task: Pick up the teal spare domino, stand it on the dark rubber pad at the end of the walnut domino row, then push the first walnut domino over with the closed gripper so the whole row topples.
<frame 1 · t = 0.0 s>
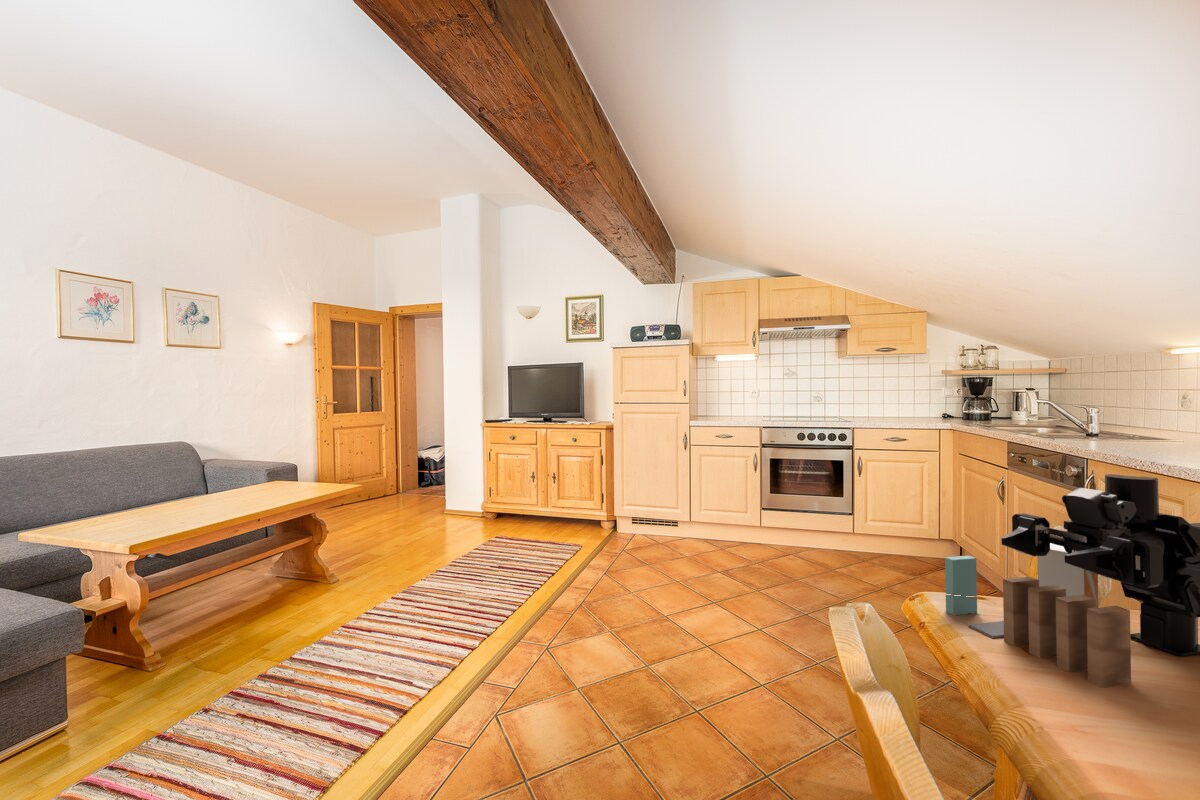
hand: (1032, 549, 75), 17 cm above the table, tool horizontal, fingers open, 9 cm apart
domino 3: (1048, 654, 77), on the table
small box: (1068, 623, 88), on the table
domino 4: (1021, 641, 81), on the table
domino 2: (1077, 667, 73), on the table
end pad: (998, 630, 85), on the table
spare domino: (961, 612, 92), on the table
domino 1: (1109, 682, 69), on the table
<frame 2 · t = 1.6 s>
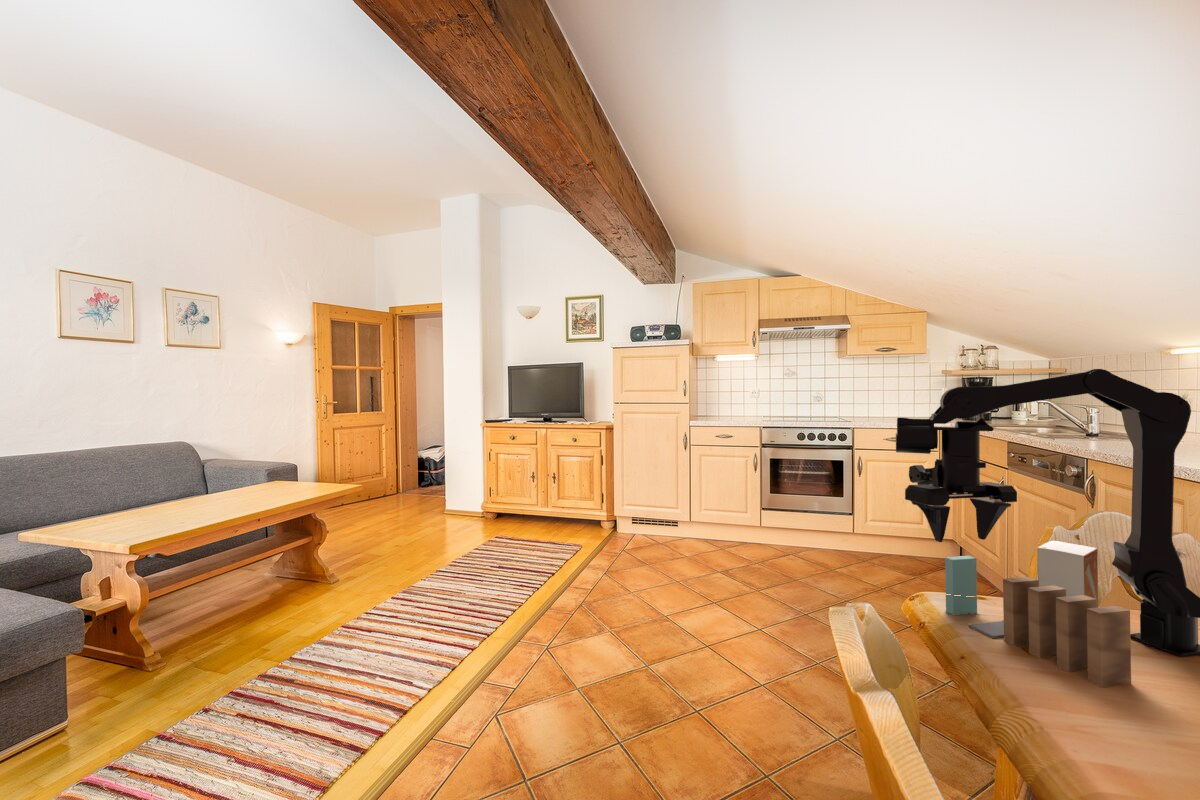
hand: (960, 540, 92), 13 cm above the table, tool pointing down, fingers open, 9 cm apart
nothing on the table moved.
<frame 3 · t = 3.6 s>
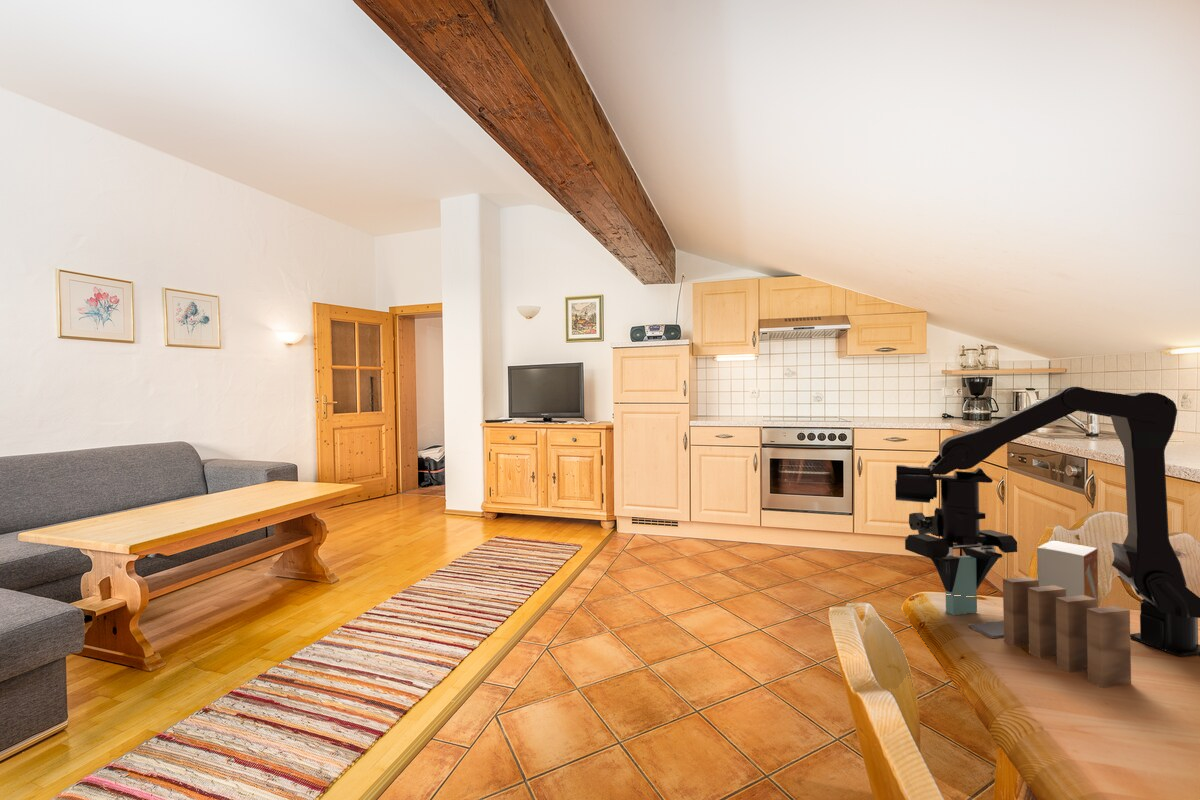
hand: (961, 590, 92), 4 cm above the table, tool pointing down, fingers closed on spare domino, 5 cm apart
spare domino: (961, 612, 92), on the table, touching gripper
everything else where it was.
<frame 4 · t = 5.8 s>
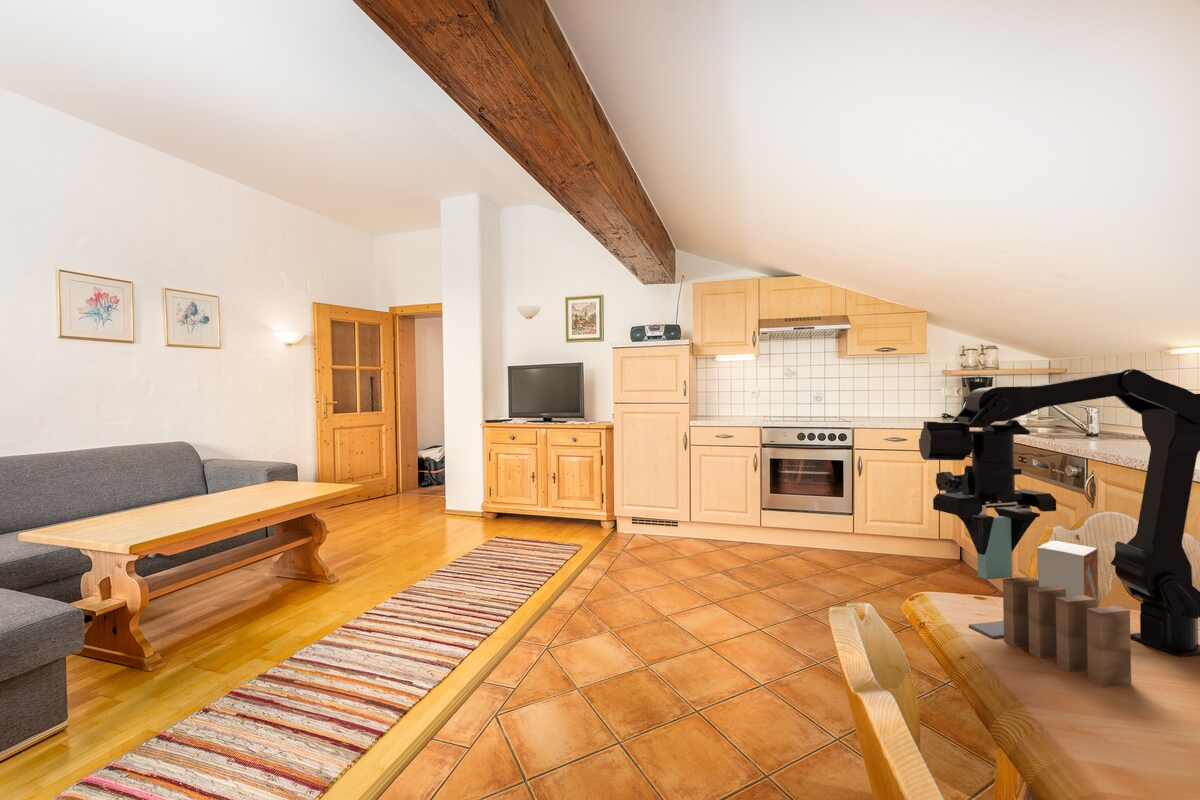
hand: (994, 553, 85), 13 cm above the table, tool pointing down, fingers closed on spare domino, 5 cm apart
spare domino: (995, 576, 85), point 9 cm above the table, touching gripper
everything else where it was.
when the fingers open (5 cm above the table, at t = 8.0 s): spare domino stays where it is, resting on end pad.
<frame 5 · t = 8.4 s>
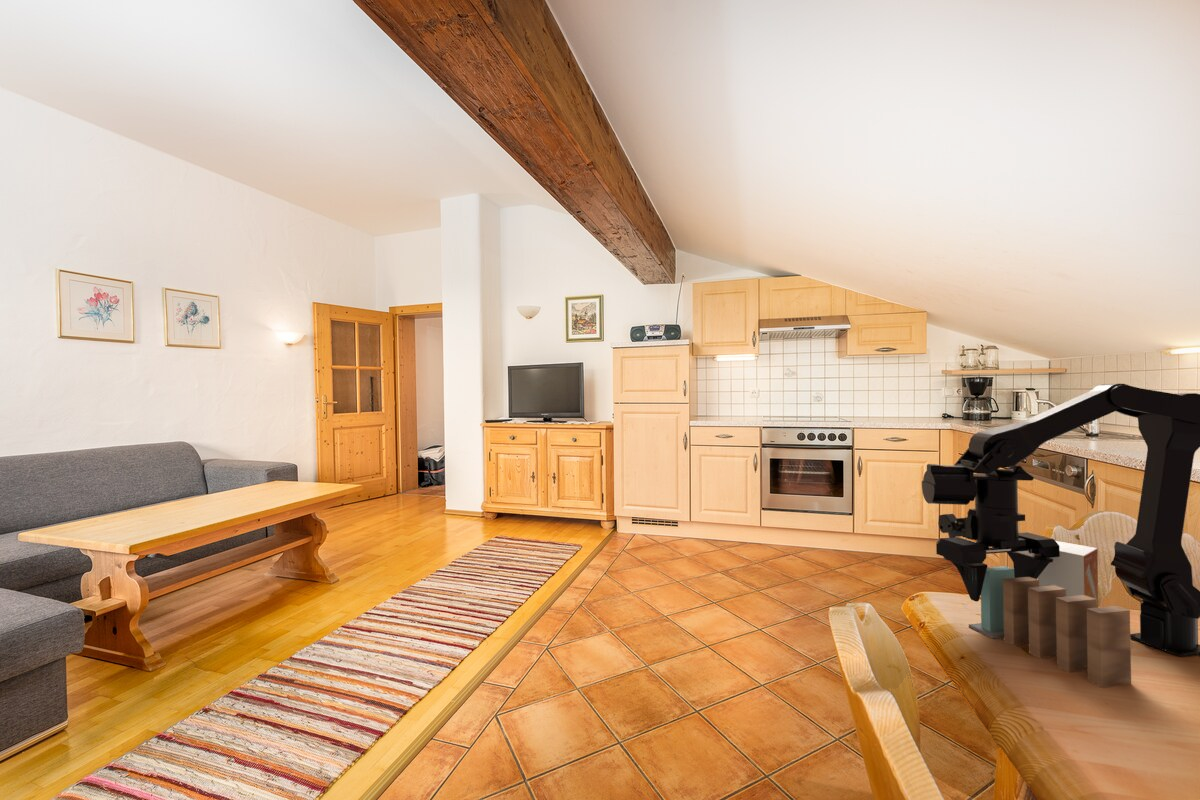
hand: (997, 598, 85), 5 cm above the table, tool pointing down, fingers open, 9 cm apart
spare domino: (998, 628, 85), resting on end pad
everything else where it was.
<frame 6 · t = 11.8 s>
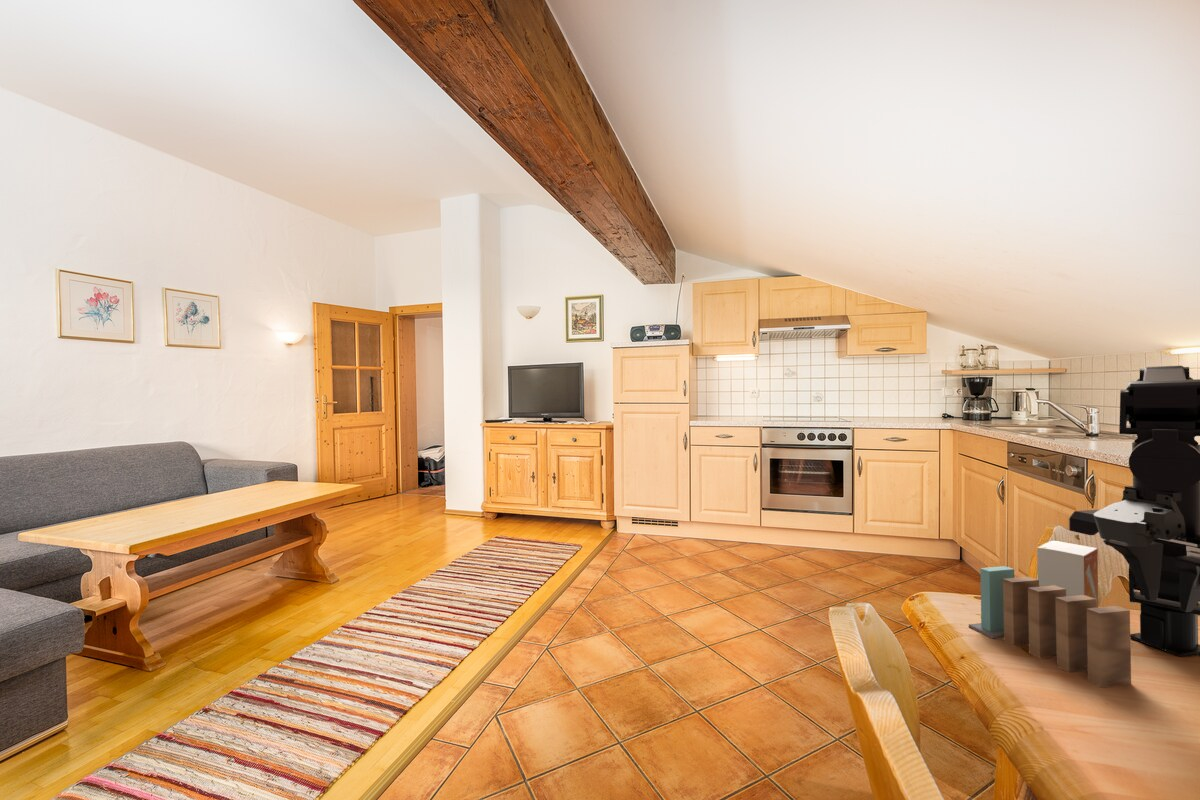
hand: (1168, 605, 63), 13 cm above the table, tool pointing down, fingers open, 3 cm apart
nothing on the table moved.
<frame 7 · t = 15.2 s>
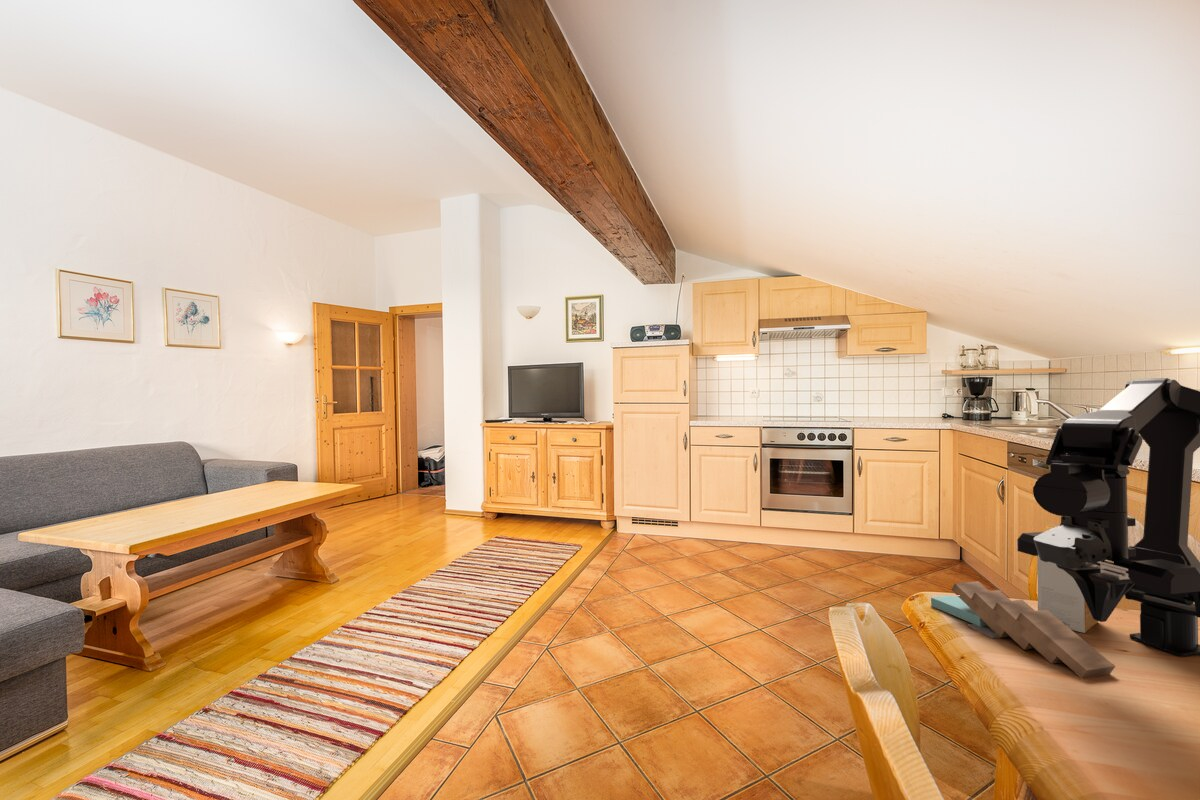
hand: (1099, 620, 70), 8 cm above the table, tool pointing down, fingers closed
domino 3: (1039, 644, 78), point 1 cm above the table, tilted 64°, touching domino 2, domino 4
domino 4: (1015, 632, 82), point 1 cm above the table, tilted 64°, touching domino 3, end pad, spare domino
domino 2: (1067, 658, 74), point 1 cm above the table, tilted 64°, touching domino 1, domino 3
spare domino: (992, 620, 86), point 1 cm above the table, tilted 93°, touching domino 4, end pad
domino 1: (1098, 672, 70), point 1 cm above the table, tilted 65°, touching domino 2
everything else where it was.
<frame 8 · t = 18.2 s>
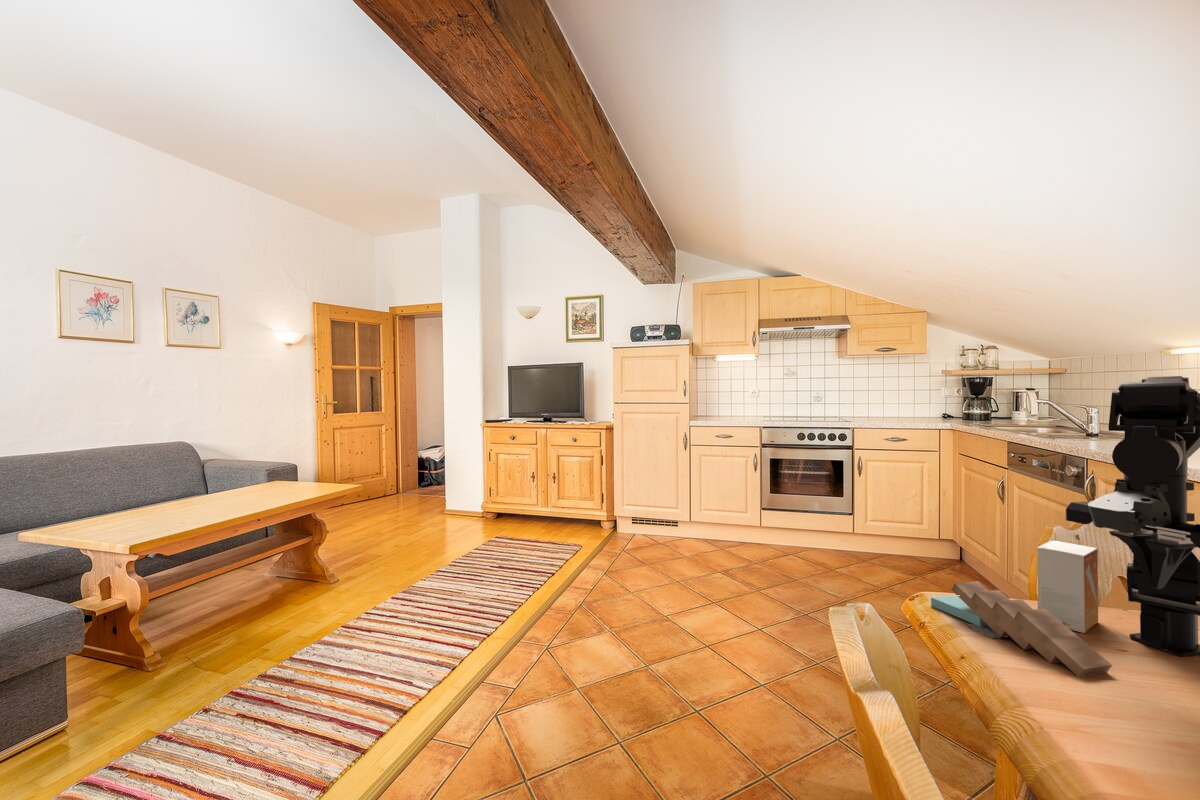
hand: (1156, 587, 68), 13 cm above the table, tool pointing down, fingers closed
at the end: spare domino 0.8 cm from the target spot, point 1.3 cm above the table; spare domino tilted 93°; domino 1 tilted 64° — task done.
